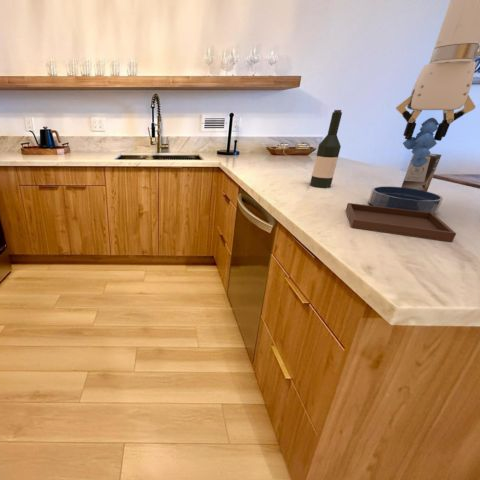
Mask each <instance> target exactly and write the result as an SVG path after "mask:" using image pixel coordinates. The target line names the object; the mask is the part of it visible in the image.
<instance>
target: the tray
mask: <svg viewBox="0 0 480 480" xmlns="http://www.w3.org/2000/svg"><path fill="white" fill-rule="evenodd" d="M345 211H346V216H347V218H348V222H349V225H350V227H351V228H352V229H357V230H365V231H372V232H378V233H386V234H393V235H399V236H406V237H414V238H420V239H428V240H434V241H442V242H446V243H447V242H448V243H453V241H454V239H455V237H456V235H457V232H455V231H454V230H453V229H452V228H451V227H450V226H448V225H447V224H446V223H445V222H444V221H443V220H441V219H440V218H439V216H437V215H436V213H435V214H433V213H432V212H423V211H414V210H406V209H397V208H388V207H379V206H374V205H372V204H361V203H352V202H347V204H346V209H345Z"/></svg>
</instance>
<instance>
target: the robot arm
mask: <svg viewBox="0 0 480 480" xmlns="http://www.w3.org/2000/svg"><path fill="white" fill-rule="evenodd" d="M478 57H480V0H450V1H449V3H448V6H447V9H446V12H445V14H444V18H443V21H442V23H441V26H440V30H439V33H438V36H437V39H436V42H435V44H434V47H433V50H432V53H431V56H430V59H429V62H428V63H427V64H424V65H423V66H422V68H421V70H420V72H419V74H418V76H417V78H416V81H415V83H414V85H413V88H412V91H411V93H410V95H409V96H408V97H407V98H405V99H404V100H403V101H402V102H400V104H398V105H396V107H395V110H396V111H397V112H398V113H399V114H400V115H401V117H403V119H404V121H406V125H405V129H404V130H403V131H404V132H403V135H402V136H403V137H404V139H405V140H410V139H411V138H412V137H413V135H414V132H415V129H416V126H417V123H416V120H417V119H418V117H419V116H420V115H421V114H422V111H442V121H441V122H439V125H438V126H437V127H438V129H437V130H436V131H435V133H434V135H433V137H434V139H435V141H436V142H437V141H439V142H441V141H442V139H443V138H445V137H446V136H447V133H448V130H449V127H450V125H451V124H453V123H454V122H455V121H456V120H458V119H460V118H461V117H463V116H464V115H466V114H468V113H470V112H472V111H474V110H475V109H476V105H475V103H474V102H473V100H472V99H471V97H470V95H469V93H470V90H471V87H472V84H473V80H474V75H475V71H476V64H477V61H474V60H475V59H476V58H478ZM407 109H408V110H407ZM459 109H460V110H459ZM409 110H410V111H411V112H410V111H409ZM456 110H458V111H456Z"/></svg>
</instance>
